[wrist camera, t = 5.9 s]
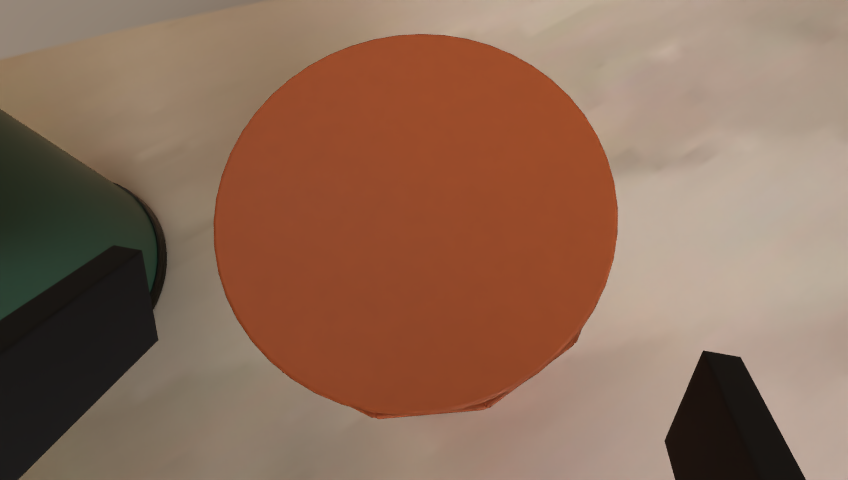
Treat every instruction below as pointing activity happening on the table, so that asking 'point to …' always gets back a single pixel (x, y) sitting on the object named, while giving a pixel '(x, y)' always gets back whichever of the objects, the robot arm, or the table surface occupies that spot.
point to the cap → (415, 225)
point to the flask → (63, 218)
